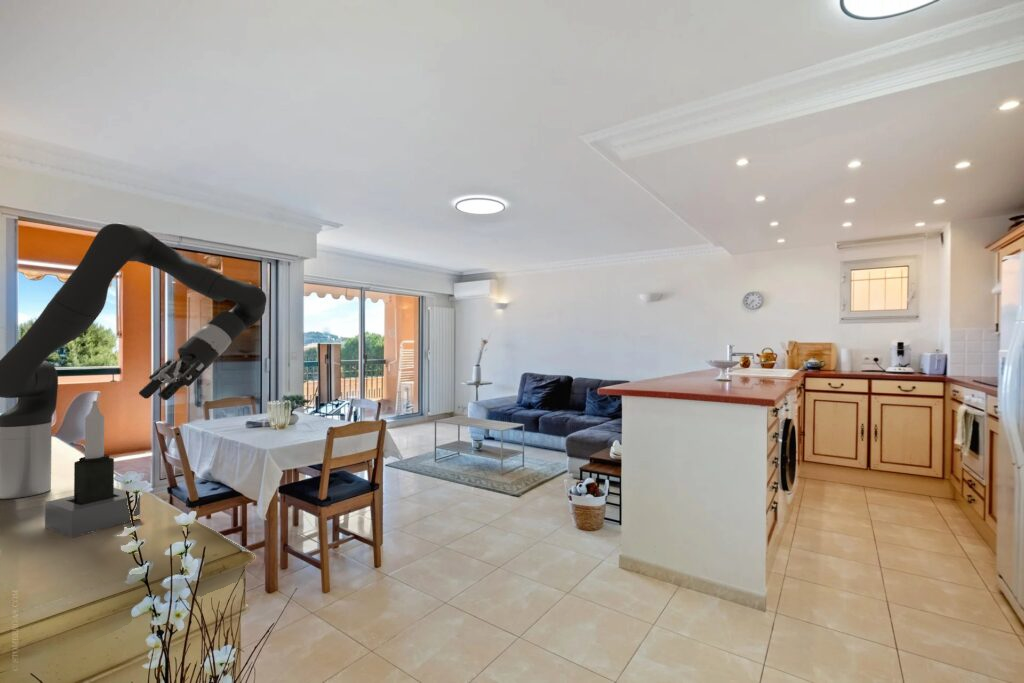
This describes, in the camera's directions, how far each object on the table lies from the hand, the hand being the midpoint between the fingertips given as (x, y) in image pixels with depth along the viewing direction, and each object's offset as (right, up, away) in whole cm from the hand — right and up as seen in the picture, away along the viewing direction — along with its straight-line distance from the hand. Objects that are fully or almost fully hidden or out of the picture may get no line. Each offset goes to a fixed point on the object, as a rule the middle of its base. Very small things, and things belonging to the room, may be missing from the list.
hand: (152, 397), depth 105 cm
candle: (-5, -25, -9) cm, 27 cm away
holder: (-5, -25, -9) cm, 27 cm away
